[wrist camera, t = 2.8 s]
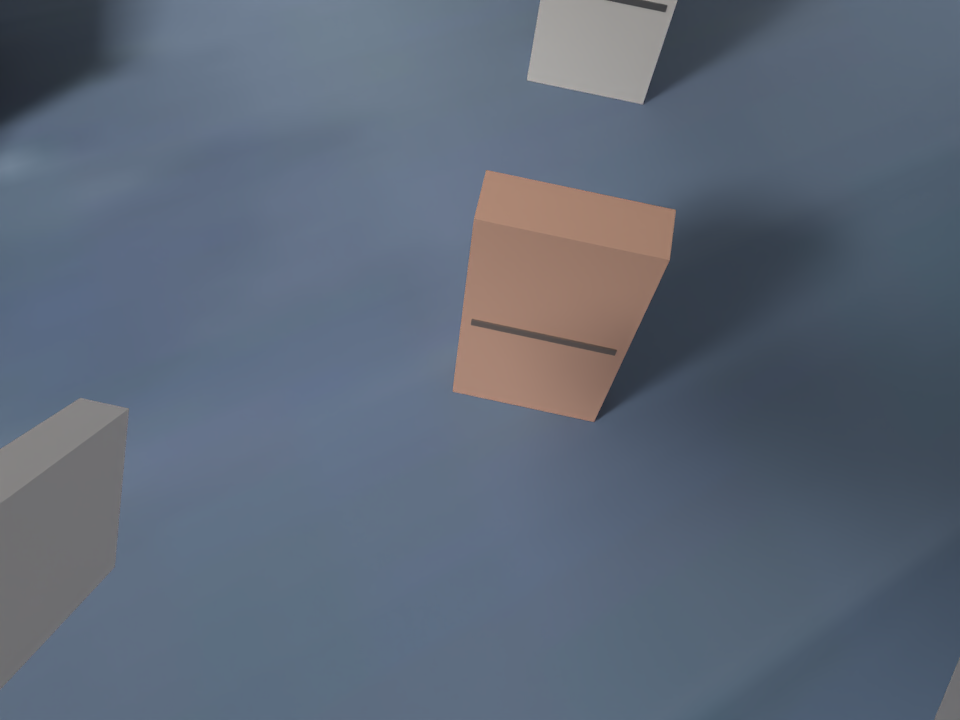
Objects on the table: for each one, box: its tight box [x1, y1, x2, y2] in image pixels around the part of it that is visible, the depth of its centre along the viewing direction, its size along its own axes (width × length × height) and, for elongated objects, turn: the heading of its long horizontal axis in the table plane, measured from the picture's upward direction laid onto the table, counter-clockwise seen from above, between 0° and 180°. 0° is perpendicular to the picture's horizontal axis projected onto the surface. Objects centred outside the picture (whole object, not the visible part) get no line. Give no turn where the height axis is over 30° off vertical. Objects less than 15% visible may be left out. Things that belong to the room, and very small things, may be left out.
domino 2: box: [453, 170, 676, 422], centre depth 28 cm, size 2×5×10 cm, turn 79°
